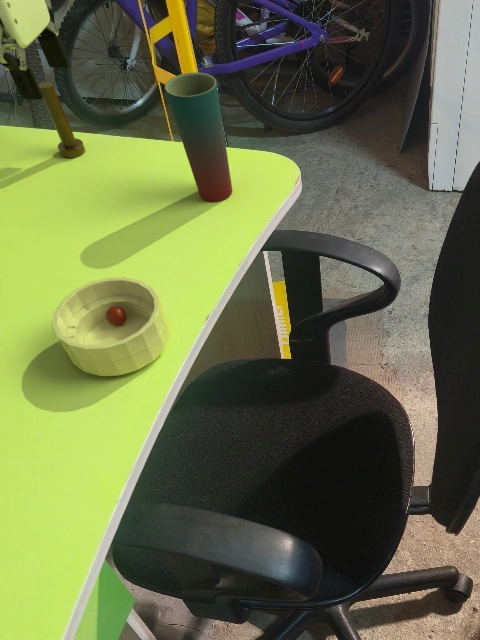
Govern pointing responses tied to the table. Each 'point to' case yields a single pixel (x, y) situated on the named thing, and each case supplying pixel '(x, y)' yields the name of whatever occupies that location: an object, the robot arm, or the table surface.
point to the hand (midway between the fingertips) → (47, 82)
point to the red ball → (116, 316)
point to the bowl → (112, 326)
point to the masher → (61, 123)
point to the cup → (201, 132)
